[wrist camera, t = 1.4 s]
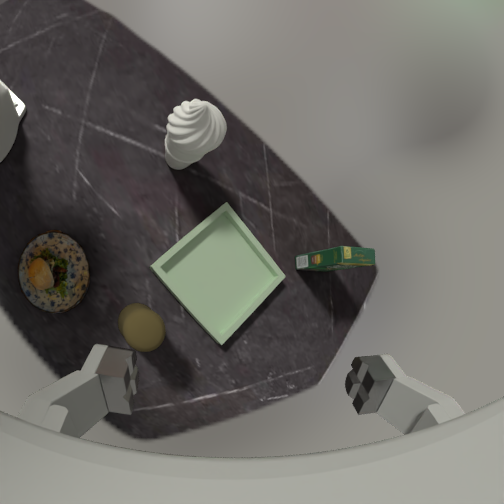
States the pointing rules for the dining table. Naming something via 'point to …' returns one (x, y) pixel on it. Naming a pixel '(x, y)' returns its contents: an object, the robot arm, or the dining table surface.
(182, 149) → the soft serve ice cream cone
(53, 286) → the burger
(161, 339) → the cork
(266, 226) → the dining table surface
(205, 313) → the tray
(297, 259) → the coffee box
